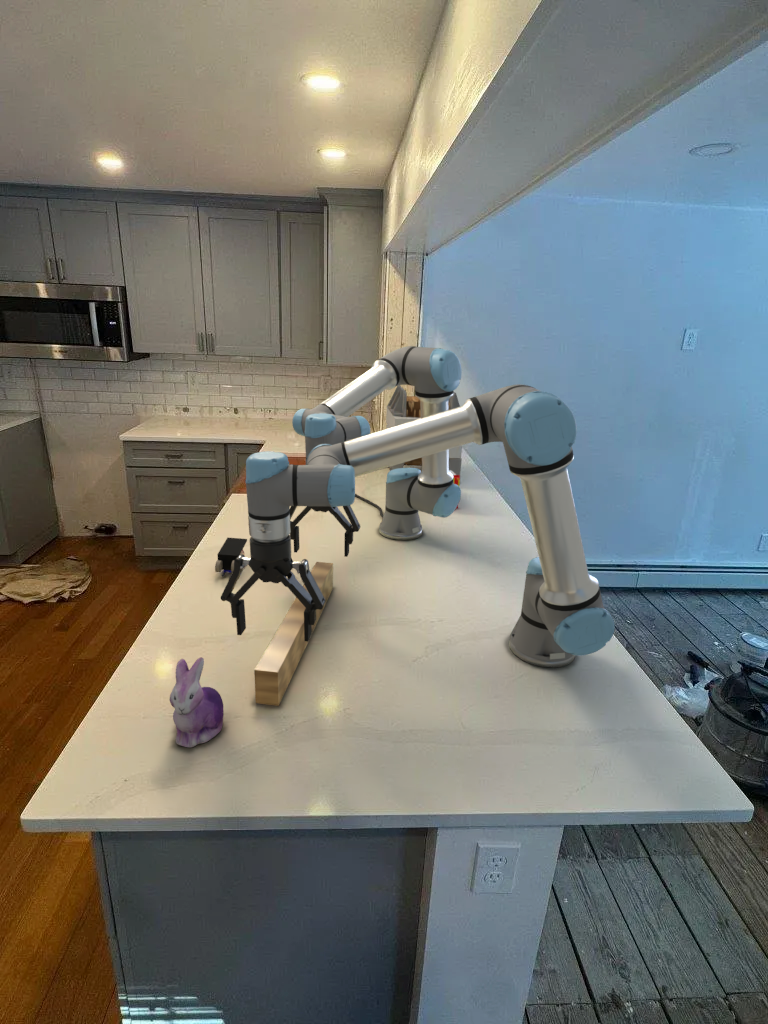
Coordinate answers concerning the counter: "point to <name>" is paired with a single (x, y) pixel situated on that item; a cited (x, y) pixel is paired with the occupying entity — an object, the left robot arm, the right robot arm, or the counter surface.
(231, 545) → the black boxy wheeled piece
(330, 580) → the post
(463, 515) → the counter surface
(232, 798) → the counter surface
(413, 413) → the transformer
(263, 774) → the counter surface
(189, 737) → the figurine
